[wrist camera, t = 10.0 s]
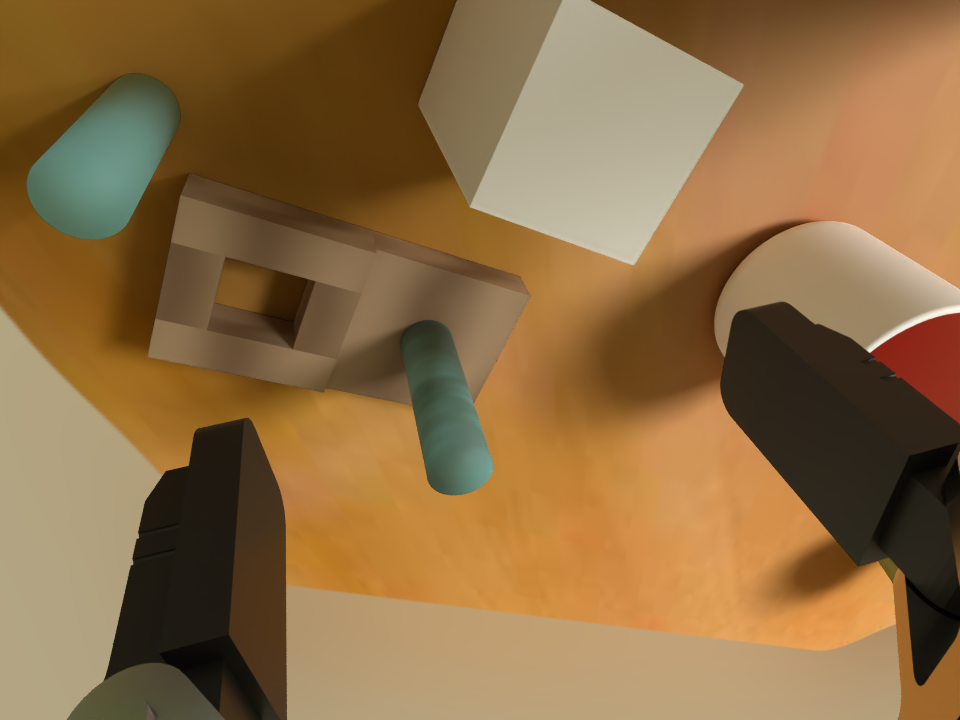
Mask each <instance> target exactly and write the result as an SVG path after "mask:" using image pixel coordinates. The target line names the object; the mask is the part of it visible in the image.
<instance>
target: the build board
mask: <svg viewBox="0 0 960 720" xmlns="http://www.w3.org/2000/svg"><path fill="white" fill-rule="evenodd" d="M376 255H377V252H376V246H375V241H374V236H373V231H372V230H369V229H366V228H363V227H360V226H356V225H353V224H350V223H347V222H344V221H340V220H337V219H334V218H331V217H328V216H324V215H321V214H318V213H315V212H312V211H308V210H305V209H302V208H299V207H296V206H292V205H289V204H286V203H283V202H280V201H276V200H273V199H270V198H267V197H264V196H260V195H257V194H254V193H251V192H247V191H244V190H241V189H238V188H235V187H231V186H228V185H225V184H222V183H219V182H215V181H212V180H209V179H206V178H203V177H199V176H196V175H193V174H190V173H189V175H188V178H187V180H186V183H185V185H184V188H183V190H182V193H181V195H180V200H179V205H178V210H177V215H176V220H175V224H174V229H173V234H172V239H171V244H170V249H169V254H168V259H167V264H166V269H165V273H164V278H163V283H162V288H161V293H160V298H159V303H158V308H157V313H156V317H155V322H154V327H153V332H152V337H151V342H150V347H149V352H148V357H150V358H155V359H160V360H165V361H170V362H175V363H180V364H185V365H190V366H195V367H200V368H205V369H210V370H215V371H220V372H225V373H230V374H235V375H240V376H245V377H250V378H255V379H260V380H265V381H270V382H275V383H280V384H285V385H290V386H295V387H300V388H305V389H310V390H315V391H320V392H324V391H325V388H326V386H327V383H328V380H329V378H330V375H331V373H332V370H333V367H334V365H335V362H336V360H337V357H338V354H339V352H340V349H341V346H342V344H343V341H344V339H345V336H346V333H347V331H348V328H349V325H350V323H351V320H352V318H353V315H354V312H355V310H356V307H357V304H358V302H359V299H360V297H361V294H362V291H363V289H364V286H365V284H366V281H367V278H368V276H369V273H370V270H371V268H372V265H373V263H374V260H375V257H376ZM225 257H228V258H231V259H235V260H239V261H243V262H246V263H250V264H254V265H258V266H261V267H265V268H269V269H272V270H276V271H280V272H284V273H287V274H291V275H295V276H298V277H302V278H306V279H308V280H307V283H306V286H305V289H304V292H303V295H302V298H301V301H300V304H299V307H298V310H297V313H296V316H295V319H294V322H291V321H287V320H283V319H279V318H275V317H271V316H266V315H262V314H258V313H254V312H250V311H246V310H241V309H237V308H233V307H229V306H225V305H220V304H216V303H214V300H215V296H216V292H217V288H218V284H219V280H220V276H221V272H222V268H223V264H224V260H225Z"/></svg>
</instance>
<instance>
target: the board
mask: <svg viewBox="0 0 960 720" xmlns="http://www.w3.org/2000/svg"><path fill="white" fill-rule="evenodd" d="M373 236H374V241H375V246H376V252H377V255H376V257H375V260H374V263H373V265H372V268H371V270H370V273H369V276H368V278H367V281H366V284H365V286H364V289H363V291H362V294H361V297H360V299H359V302H358V304H357V307H356V310H355V312H354V315H353V318H352V320H351V323H350V325H349V328H348V331H347V333H346V336H345V339H344V341H343V344H342V346H341V349H340V352H339V354H338V357H337V360H336V362H335V365H334V367H333V370H332V373H331V375H330V378H329V380H328V383H327V386H326V388H329V389H334V390H339V391H344V392H349V393H354V394H359V395H364V396H369V397H374V398H379V399H384V400H389V401H393V402H398V403H403V404H408V405H413V410H414V415H415V420H416V425H417V430H418V435H419V440H420V444H421V449H422V454H423V459H424V464H425V469H426V474H427V479H428V482H429V484H430V486H431V487H432V488H433V489H434V490H436V491H437V492H439V493H442V494H446V495H462V494H466V493H469V492H472V491H474V490H476V489H478V488H480V487H481V486H482V485H484V484H485V483H486V482H487V480H488V479H489V478H490V476H491V474H492V471H493V462H492V459H491V456H490V452H489V449H488V446H487V443H486V440H485V437H484V434H483V431H482V428H481V425H480V421H479V418H478V415H477V412H476V409H475V406H474V402H475V400H476V398H477V396H478V394H479V393H480V391H481V389H482V387H483V385H484V383H485V381H486V379H487V378H488V376H489V374H490V372H491V370H492V368H493V366H494V364H495V362H496V361H497V359H498V357H499V355H500V353H501V351H502V349H503V347H504V346H505V344H506V342H507V340H508V338H509V336H510V334H511V332H512V330H513V329H514V327H515V325H516V323H517V321H518V319H519V317H520V315H521V314H522V312H523V310H524V308H525V306H526V304H527V302H528V300H529V299H530V297H531V295H530V294H529V292H528V290H527V288H526V286H525V284H524V283H523V281H522V279H521V277H520V276H517V275H513V274H510V273H507V272H504V271H501V270H497V269H494V268H491V267H488V266H485V265H481V264H478V263H475V262H472V261H469V260H465V259H462V258H459V257H456V256H453V255H449V254H446V253H443V252H440V251H437V250H433V249H430V248H427V247H424V246H421V245H417V244H414V243H411V242H408V241H405V240H401V239H398V238H395V237H392V236H388V235H385V234H382V233H379V232H376V231H373Z"/></svg>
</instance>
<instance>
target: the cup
mask: <svg viewBox="0 0 960 720" xmlns="http://www.w3.org/2000/svg"><path fill="white" fill-rule="evenodd" d="M776 302H786V303H789V304H790V305H792V306H793V307H794V308H796V309H797V310H798V311H799V312H800V313H802V314H803V315H804V316H805V317H807V318H808V319H809V320H810V321H811V322H813V323H814V324H821V325H823V326H825V327H827V328H830V329H832V330H834V331H836V332H839V333H841V334H843V335H845V336H848V337H850V338H852V339H853V340H854V341H855V342H857V343H858V344H859V345H860V346H862V347H863V348H864V349H866V350H867V351H868V352H869V353H871V354H872V355H873V356H874V357H876V358H875V359H876V361H877V362H880V361H881V362H882V363H883V364H885V365H886V366H887V367H888V368H890V369H891V370H892V371H893V372H895V373H896V377H897V378H902V379H903V380H905V381H906V382H907V383H909V384H910V385H911V386H912V387H914V388H915V389H916V390H917V391H919V392H920V393H921V394H922V395H924V396H925V397H926V398H928V399H929V400H930V401H931V402H933V403H934V404H935V405H936V406H938V407H939V408H940V409H941V410H943V411H944V412H945V413H946V414H948V415H949V416H950V417H952V418H953V419H954V420H955V421H957V422H958V423H959V424H960V289H958V288H957V287H955V286H953V285H952V284H950V283H948V282H947V281H945V280H944V279H942V278H940V277H939V276H937V275H935V274H934V273H932V272H931V271H929V270H927V269H926V268H924V267H922V266H921V265H919V264H918V263H916V262H914V261H913V260H911V259H909V258H908V257H906V256H904V255H903V254H901V253H900V252H898V251H896V250H895V249H893V248H891V247H890V246H888V245H887V244H885V243H883V242H882V241H880V240H878V239H877V238H875V237H874V236H872V235H870V234H869V233H867V232H865V231H864V230H862V229H860V228H858V227H856V226H854V225H851V224H847V223H844V222H837V221H818V222H810V223H806V224H802V225H798V226H795V227H793V228H790V229H788V230H786V231H783V232H781V233H779V234H777V235H775V236H774V237H772V238H770V239H769V240H767V241H766V242H764V243H763V244H761V245H760V246H759V247H757V248H756V249H755V250H754V251H753V252H751V253H750V254H749V255H748V256H747V257H746V258H745V259H744V260H743V261H742V262H741V263H740V265H739V266H738V267H737V268H736V269H735V271H734V272H733V273H732V275H731V276H730V278H729V279H728V281H727V283H726V284H725V286H724V288H723V290H722V293H721V295H720V298H719V300H718V303H717V307H716V311H715V317H714V331H715V338H716V341H717V344H718V347H719V349H720V351H721V353H722V354H723V356H724V357H725V354H726V349H727V344H728V338H729V333H730V328H731V323H732V319H733V317H734V315H735V314H736V313H737V312H738V311H740V310H744V309H749V308H753V307H758V306H763V305H767V304H772V303H776Z"/></svg>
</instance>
